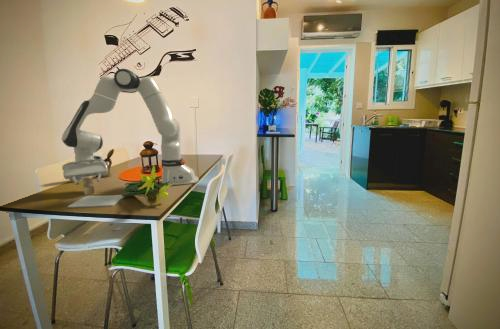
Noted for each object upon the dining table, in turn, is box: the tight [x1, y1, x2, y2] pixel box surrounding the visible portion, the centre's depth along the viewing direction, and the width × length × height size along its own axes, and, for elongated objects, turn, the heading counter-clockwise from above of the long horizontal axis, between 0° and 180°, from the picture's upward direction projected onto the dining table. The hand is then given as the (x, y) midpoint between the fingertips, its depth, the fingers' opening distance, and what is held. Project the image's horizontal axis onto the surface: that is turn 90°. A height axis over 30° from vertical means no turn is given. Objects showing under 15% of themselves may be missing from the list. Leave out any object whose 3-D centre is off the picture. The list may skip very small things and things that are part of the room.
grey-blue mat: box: [67, 194, 126, 208], centre depth 119 cm, size 20×14×1 cm
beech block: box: [81, 176, 96, 196], centre depth 131 cm, size 4×4×9 cm
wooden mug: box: [95, 148, 115, 179], centre depth 168 cm, size 9×14×18 cm, turn 143°
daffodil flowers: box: [121, 164, 173, 204], centre depth 116 cm, size 17×15×35 cm
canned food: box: [67, 161, 83, 183], centre depth 157 cm, size 8×8×12 cm
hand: (88, 182), depth 131 cm, fingers open, 8 cm apart
